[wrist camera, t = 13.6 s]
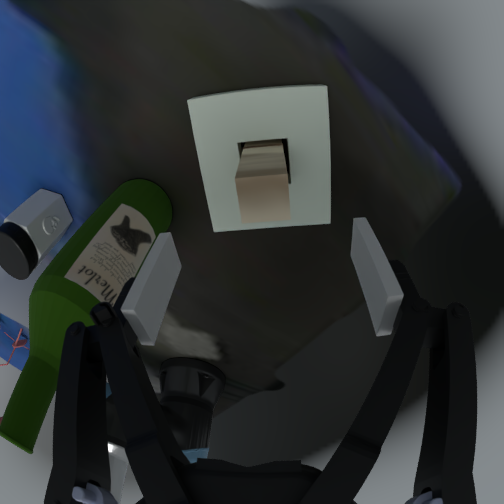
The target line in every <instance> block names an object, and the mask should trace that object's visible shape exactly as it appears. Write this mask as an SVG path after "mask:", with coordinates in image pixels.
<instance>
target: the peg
mask: <svg viewBox="0 0 504 504" xmlns="http://www.w3.org/2000/svg"><path fill="white" fill-rule="evenodd" d="M235 184H236V190H237V196H238V202H239V209H240V215H241V221H242V224H243V223H256V222H269V221H282V220H291V215H290V200H289V186H288V173H287V167H286V162H285V156H284V151H283V143H282V140H281V139H270V140H259V141H249V142H245V145H244V147H243V151H242V155H241V158H240V162H239V165H238V169H237V172H236V176H235Z"/></svg>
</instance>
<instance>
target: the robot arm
mask: <svg viewBox="0 0 504 504" xmlns="http://www.w3.org/2000/svg"><path fill="white" fill-rule="evenodd" d="M351 258H352V261H353V263H354V266H355V269H356V272H357V275H358V278H359V281H360V284H361V287H362V290H363V293H364V296H365V299H366V303H367V306H368V309H369V312H370V316H371V319H372V322H373V326H374V329H375V333H376V336H383V335H389V334H391V332H392V329H393V327H394V330H395V336H394V338H393V341H392V343H391V346H390V348H389V350H388V352H387V355H386V357H385V360H384V362H383V364H382V366H381V369H380V371H379V373H378V375H377V377H376V379H375V381H374V383H373V386H372V387H371V389H370V391H369V394H368V396H367V397H366V399H365V402H364V403H363V405H362V407H361V409H360V411H359V413H358V414H357V416H356V418H355V420H354V422H353V424H352V425H351V427H350V429H349V430H348V432H347V434H346V435H345V437H344V439H343V440H342V442H341V443H340V445H339V447H338V448H337V450H336V452H335V453H334V455H333V456H332V458H331V459H330V461H329V462H328V464H327V465H326V467H325V469H324V470H323V471H321V470H319V469H317V468H314V467H311V466H308V465H303V464H301V460H296V461H274V462H270V463H265V464H261V465H256V466H252V467H244V466H241V465H237V464H233V463H230V462H227V461H224V460H217V459H207V454H208V451H209V442H210V433H211V424H212V416H213V409H214V407H215V405H216V403H217V401H218V399H219V397H220V396H221V394H222V392H223V390H224V386H225V376H224V374H223V373H222V372H221V371H220V370H219V369H217V368H216V367H214V366H212V365H210V364H208V363H206V362H203V361H200V360H196V359H190V358H172V359H169V360H166V361H165V362H163V363H162V365H161V369H160V373H159V379H160V389H161V401H160V404H159V401H158V399H157V397H156V394H155V392H154V389H153V387H152V385H151V382H150V379H149V377H148V374H147V372H146V369H145V366H144V364H143V361H142V358H141V356H140V353H139V350H138V348H137V346H136V341H137V338H138V340H139V341H140V343H141V344H142V345H155V341H156V338H157V335H158V332H159V329H160V326H161V323H162V320H163V317H164V314H165V311H166V308H167V306H168V303H169V300H170V297H171V294H172V291H173V289H174V286H175V283H176V280H177V277H178V275H179V272H180V269H181V267H182V266H181V263H180V260H179V257H178V254H177V251H176V248H175V245H174V242H173V238H172V235H171V232H168V233H160V234H159V235H158V237H157V239H156V241H155V243H154V245H153V246H152V248H151V250H150V252H149V254H148V256H147V258H146V259H145V261H144V263H143V265H142V267H141V269H140V271H139V273H138V275H137V277H131V278H130V279H129V280H128V281H127V282H126V283H125V284H124V286H123V288H122V291H121V292H120V294H119V296H118V298H117V300H116V302H115V304H114V306H113V307H112V305H111V304H110V303H109V302H100V303H98V304H96V305H95V306H94V307H93V308H92V309H91V311H90V315H89V316H90V317H91V319H92V320H93V322H94V323H95V325H92V326H88V327H86V326H85V325H84V323H83V322H81V321H77V322H74V323H72V324H71V325H70V326H69V327H68V328H67V330H66V332H65V337H64V343H63V348H62V354H61V360H60V367H59V374H58V381H57V389H56V400H55V411H54V429H53V467H52V470H51V474H50V478H49V482H48V486H47V490H46V495H45V499H44V504H120V501H121V496H122V490H123V485H124V480H125V475H126V470H127V466H128V464H130V466H131V469H132V471H133V473H134V476H135V478H136V481H137V483H138V485H139V487H140V490H141V492H142V494H143V498H142V499H141V500H139V501H138V502H137V503H136V504H357V503H356V502H355V501H354V500H353V499H354V498H355V496H356V494H357V493H358V491H359V490H360V488H361V487H362V485H363V483H364V482H365V480H366V478H367V476H368V475H369V473H370V471H371V470H372V468H373V466H374V464H375V462H376V460H377V459H378V457H379V454H380V452H381V447H382V445H383V443H384V441H385V439H386V437H387V435H388V433H389V430H390V428H391V426H392V424H393V422H394V420H395V417H396V415H397V413H398V410H399V408H400V406H401V403H402V401H403V399H404V396H405V394H406V391H407V388H408V386H409V383H410V380H411V378H412V375H413V372H414V369H415V366H416V364H417V361H418V357H419V354H420V351H421V348H422V347H424V348H430V358H429V359H430V360H429V383H428V397H427V408H426V417H425V425H424V433H423V439H422V446H421V452H420V457H419V462H418V467H417V472H416V477H415V483H414V493H413V498H411V499H409V500H408V501H407V502H406V503H405V504H477V501H476V494H475V486H474V480H473V474H472V471H473V462H474V454H475V444H476V429H477V379H476V362H475V351H474V342H473V333H472V326H471V319H470V313H469V311H468V309H467V308H466V307H465V306H464V305H463V304H461V303H458V302H452V303H450V304H449V305H448V306H447V308H446V309H442V308H435V307H431V305H430V303H429V302H428V301H427V300H425V299H423V298H421V297H420V295H419V293H418V291H417V289H416V287H415V285H414V283H413V281H412V279H411V278H410V275H409V274H408V271H407V270H406V267H405V266H404V265H403V264H402V263H401V262H400V261H399V260H387V258H386V256H385V254H384V252H383V250H382V248H381V246H380V244H379V242H378V240H377V238H376V236H375V234H374V232H373V230H372V229H371V227H370V225H369V223H368V221H367V219H366V218H354V220H353V233H352V245H351ZM106 374H107V378H108V382H109V383H107V382H106Z"/></svg>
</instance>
